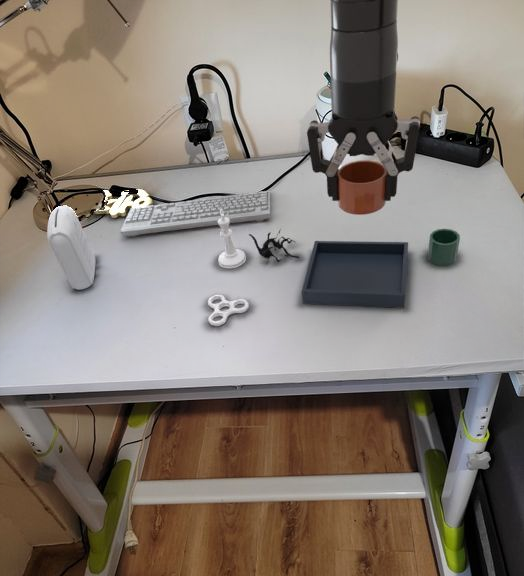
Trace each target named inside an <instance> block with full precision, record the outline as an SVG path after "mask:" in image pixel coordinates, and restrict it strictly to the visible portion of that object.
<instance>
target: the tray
mask: <svg viewBox="0 0 524 576" xmlns="http://www.w3.org/2000/svg"><path fill="white" fill-rule="evenodd" d="M408 252H409V241H353V240H352V241H348V240H347V241H346V240H345V241H344V240H343V241H342V240H314V243H313V246H312V251H311V254H310V258H309V263H308V266H307V269H306V273H305V276H304V281H303V284H302V288H301V298H302V304H304V305H307V304H308V305H324V306H325V305H328V306H347V307H348V306H350V307H353V306H354V307H371V308H373V307H374V308H391V309H392V308H395V309H405V304H406V289H407V270H408Z"/></svg>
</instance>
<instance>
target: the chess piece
mask: <svg viewBox="0 0 524 576" xmlns="http://www.w3.org/2000/svg"><path fill="white" fill-rule="evenodd" d="M220 214H221V218H220V219H219V220H218V224H219V225H218V226H219V228H220V229H221V231H220V232H219V236H220V237H222V238H224V247H225V250H224V251H222V252H221V253H220V254H219V256H218V258H217V259H218V265H219V266H220V267H221V268H223V269H236V268H239V267H241V266H242V265H244V263H246V260H247V255H246V253H245V252H244V251H243V250H241V249H240V248H235V246H234V244H233V242H232V241H233V240H232V238H231V236H232V235H233V233H234V232H233V230H232V229H231V228H230V224H231V223H230V219H229V218H227V217H225V216H224V213H223V210H222V209H220Z"/></svg>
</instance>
